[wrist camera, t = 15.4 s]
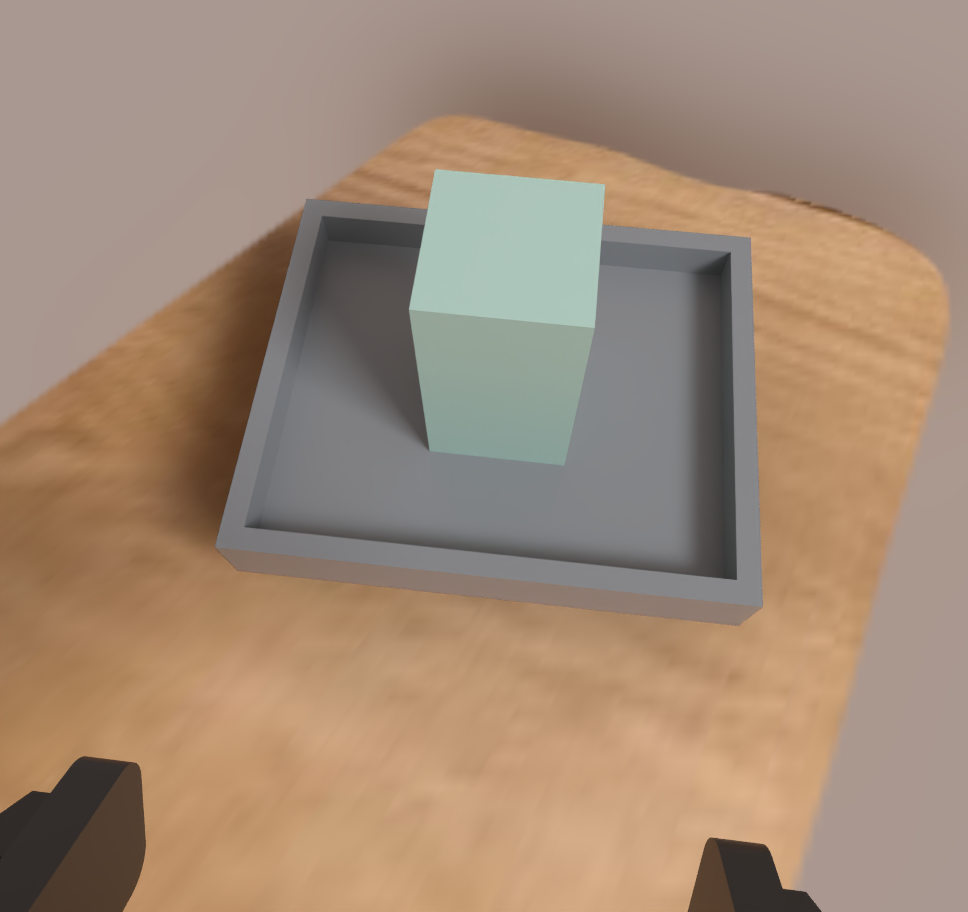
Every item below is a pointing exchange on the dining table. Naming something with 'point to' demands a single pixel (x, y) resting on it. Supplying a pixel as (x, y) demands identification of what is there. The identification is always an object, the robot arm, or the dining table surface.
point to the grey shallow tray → (500, 482)
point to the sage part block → (505, 312)
